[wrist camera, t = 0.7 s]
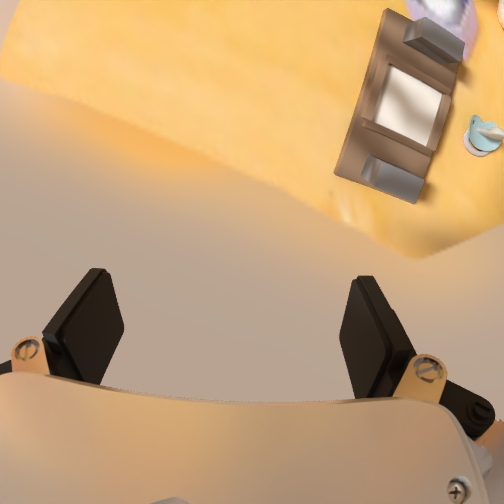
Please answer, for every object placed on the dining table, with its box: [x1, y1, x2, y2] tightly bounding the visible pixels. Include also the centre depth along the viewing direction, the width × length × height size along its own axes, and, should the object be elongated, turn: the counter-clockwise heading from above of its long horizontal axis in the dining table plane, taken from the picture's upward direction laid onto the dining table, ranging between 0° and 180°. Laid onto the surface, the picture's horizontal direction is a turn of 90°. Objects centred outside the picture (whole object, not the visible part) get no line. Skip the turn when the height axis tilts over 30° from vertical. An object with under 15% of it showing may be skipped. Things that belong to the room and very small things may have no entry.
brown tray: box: [334, 8, 465, 204], centre depth 29 cm, size 24×12×6 cm, turn 165°
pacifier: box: [463, 115, 504, 156], centre depth 30 cm, size 7×6×6 cm
